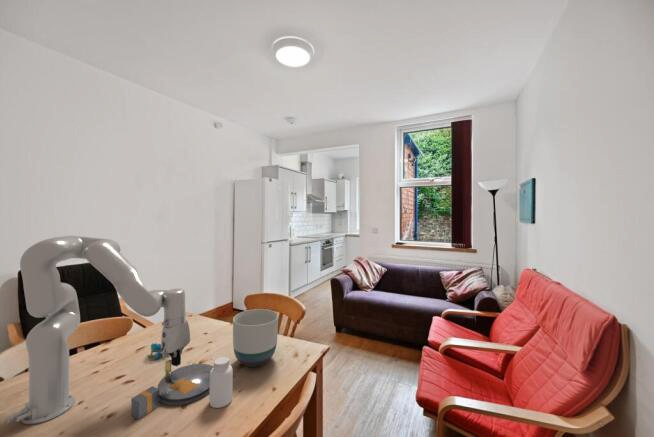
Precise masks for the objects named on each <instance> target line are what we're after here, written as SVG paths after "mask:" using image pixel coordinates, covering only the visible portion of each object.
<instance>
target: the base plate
mask: <svg viewBox="0 0 654 437" xmlns="http://www.w3.org/2000/svg"><path fill="white" fill-rule="evenodd" d="M209 392H210V389H209V390H207V391H206V392H204V393H203V394H201V395H199V396H196V397H194V398H191V399H187V400H182V401H167V400H164V399H162V398H161V397H159V404H161V405H164V406H168V407H169V406H170V407H179V406H185V405H189V404H192V403H195V402H197V401H200V400H202V399H203V398H205V397H207V396H208V395H209Z"/></svg>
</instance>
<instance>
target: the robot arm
mask: <svg viewBox="0 0 654 437" xmlns="http://www.w3.org/2000/svg"><path fill="white" fill-rule="evenodd" d="M70 259H82V260H86V261H87V262H88V263H89V264H91V265H92V266H93V267H94V268H95V269H96V270H97V271H98V272H100V274H102V275H103V277H105V279H107V280H108V281H109V282H111V284H112V285H113V287H114V289H115V290H116V292H117V294H118V295H119V296H120V298H121V300H122V301H123V302H124V303H125V304H126V305H127V306H128V307H129V308H130V309H132V310H133V311H134V312H135V313H136V314H138V315H139V316H142V317H146V318H147V317H152V316H155V315H156V314H157V313H158V312H160V310H161V309H162V308H163V322H161V326H162V329H161V337H160V344H161V350H162V351H163V352H161V353H162V354H161V355H162V357H165V358H166V357H170V360H171V366H174V367H178V366H180V365H181V363H182V362H181V361H182V360H181V359H182V358H181V357H182V354H183V351H184V348H185V347H186V346H188V345H189V344H190V342H191V330H190V325H189V320H188V319H186V316H187V315H186V291H185V289H183V288H171V289H153V290H150V291H148V290H147V288H145V286H144V285H143V284H142V282H141V279H140V278H139V275H138V270H137V268H136V267H135V265H133V264H132V262H130V261H129V260H128V259H127V258H126V257H125V256H124V255H123V254H122V253H121V246H120V244H119V243H118V242H117V241H115V240H113V239H109V238H100V237H99V238H98V237H91V236H90V237H89V236H88V237H87V236H80V235H79V236H78V235H64V236H56V237H55V236H54V237H52V238H47V239H46V238H45V239H44V240H41V241H37V242H36V243H34V244H32V245H31V246H29V247H28V248H27V249H26V250H25V251H24V252H23V254H22V255H21V257H20V262H19V267H20V273H21V277H22V284H23V291H24V292H23V293H24V299H25V305H26V306H25V307H26V310H27V313H28V314H29V315H30V317H34V318H40V319H41V318H45V319H43V320H42V321H41V322H39V323H37V324H36V325H34V327H33V328H32V329H31V330H30V331H29V332H28V334H27V335H26V339H25V347H26V351H27V356H28V372H29V373H28V374H29V375H28V402H27V403H25V404H24V407H23V408H21V409H20V410H19V411H17V412H14V413H12V414H10V415H8V416H6V417H5V420H6V423H7V424H9V423H11V422H13V421H15V422H16V423H18V422H21V423H22V424H24V425H35V424H36V425H37V424H41V423H44V422H46V421H49V420H52V419H54V418H56V417H58V416H61V415H62V414H64V413H66V412H67V411H69V409H71V408H72V407H73V406H74V404H75V400H76V398H75V396H73V395H71V394H70V349H69V345H68V341H67V340H68V338H69V337H70V336H71V335H72V334H73V333H74V332H75V331H76V330H77V329H78V327H79V326H80V323H81V313H80V312H81V311H80V307H79V300H78V295H77V291H76V289H75V288H74V287H73V286H72V285H71V284H69V283H66V282H61V275H60V272H59V269H58V268H57V264H58V263H60V262H63V261H66V260H70Z"/></svg>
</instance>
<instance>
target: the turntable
mask: <svg viewBox="0 0 654 437" xmlns="http://www.w3.org/2000/svg"><path fill="white" fill-rule="evenodd" d="M213 367H214V365H210V364H206V363H194V364H188V365H184V366H181V367H179V368H176V369H174V370H172V363H171V359H167V360H166V361H165V362H164V369H165V370H164V377H162V378H161V379H160V381H159V383H158V385H157V388H158V389H160V395H159V397H161V398H162V399H164V400H167V401H182V400H187V399H191V398H194V397H196V396H199V395H201V394H203V393H204V392H206V391H207V390H209V389H210V371H211V370H212V368H213Z"/></svg>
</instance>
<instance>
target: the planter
mask: <svg viewBox="0 0 654 437" xmlns="http://www.w3.org/2000/svg"><path fill="white" fill-rule="evenodd" d="M232 318H233V319H232V344H233V345H232V346H233V353H234V357H235V358H236V360H237V361H238V362H240V364H242V365H244V366H246V367H250V368H251V367H259V366H263V365H264V364H265V363H267V362H269V361H270V359H271V358H273V356H274V355H275V353H276V349H277V346H278V333H279V314H278V312H276V311H274V310H271V309H265V308H255V309H249V310H244V311H241V312H239V313H237V314H236V315H234V316H233V317H232Z"/></svg>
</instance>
